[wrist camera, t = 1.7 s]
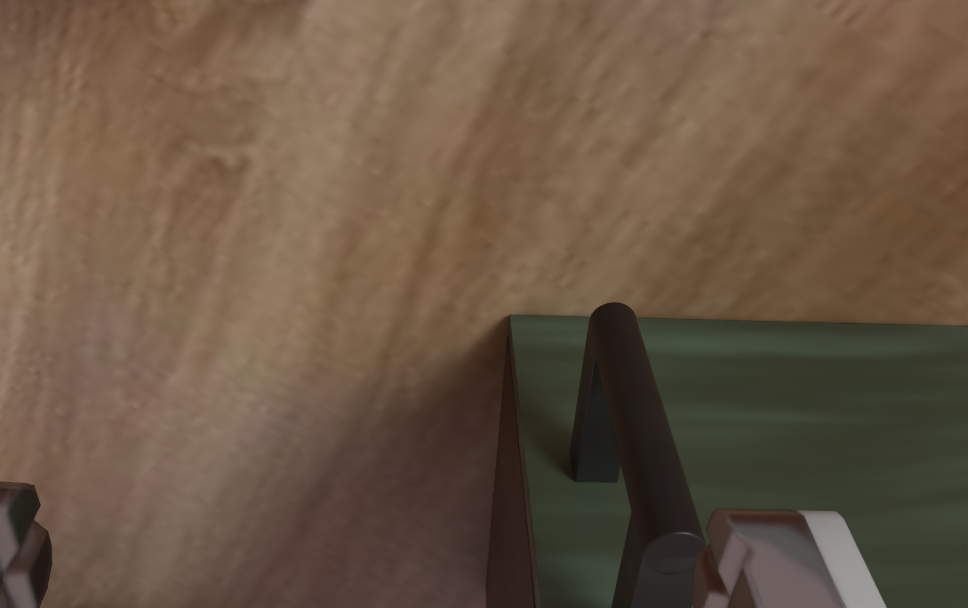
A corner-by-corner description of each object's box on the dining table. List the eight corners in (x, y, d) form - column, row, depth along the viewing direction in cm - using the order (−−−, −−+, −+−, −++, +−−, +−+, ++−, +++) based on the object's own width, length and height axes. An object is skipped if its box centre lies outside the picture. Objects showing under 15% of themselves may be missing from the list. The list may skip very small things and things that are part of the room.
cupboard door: (520, 178, 37) (605, 699, 18) (1111, 199, 39) (1778, 698, 19) (507, 332, 41) (563, 884, 22) (1039, 344, 43) (1524, 870, 24)
